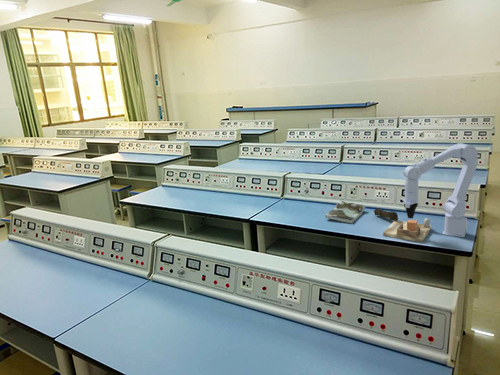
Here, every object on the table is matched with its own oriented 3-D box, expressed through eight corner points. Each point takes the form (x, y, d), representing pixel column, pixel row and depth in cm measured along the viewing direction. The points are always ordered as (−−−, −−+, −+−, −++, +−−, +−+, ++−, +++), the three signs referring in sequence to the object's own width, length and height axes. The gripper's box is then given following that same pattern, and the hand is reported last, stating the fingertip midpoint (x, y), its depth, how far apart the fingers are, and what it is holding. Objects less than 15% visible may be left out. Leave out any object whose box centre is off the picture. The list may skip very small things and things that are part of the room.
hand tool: (374, 215, 214) (373, 208, 213) (380, 214, 215) (379, 206, 214) (393, 222, 196) (392, 214, 195) (400, 221, 196) (399, 212, 196)
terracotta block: (417, 228, 186) (417, 220, 185) (415, 230, 183) (415, 223, 182) (408, 227, 189) (409, 219, 188) (406, 229, 186) (407, 222, 185)
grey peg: (430, 226, 188) (430, 218, 187) (429, 227, 185) (429, 220, 184) (424, 225, 189) (424, 217, 188) (423, 227, 187) (423, 219, 186)
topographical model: (351, 224, 204) (351, 216, 203) (325, 221, 213) (325, 212, 211) (365, 210, 225) (365, 203, 224) (340, 208, 233) (340, 200, 232)
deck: (431, 229, 189) (431, 219, 188) (421, 242, 174) (422, 232, 173) (394, 223, 200) (394, 215, 199) (383, 236, 184) (383, 227, 183)
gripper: (406, 186, 185) (405, 212, 189) (398, 194, 174) (397, 221, 178) (421, 188, 181) (420, 214, 185) (414, 195, 170) (413, 223, 173)
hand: (410, 217), depth 181 cm, fingers closed
